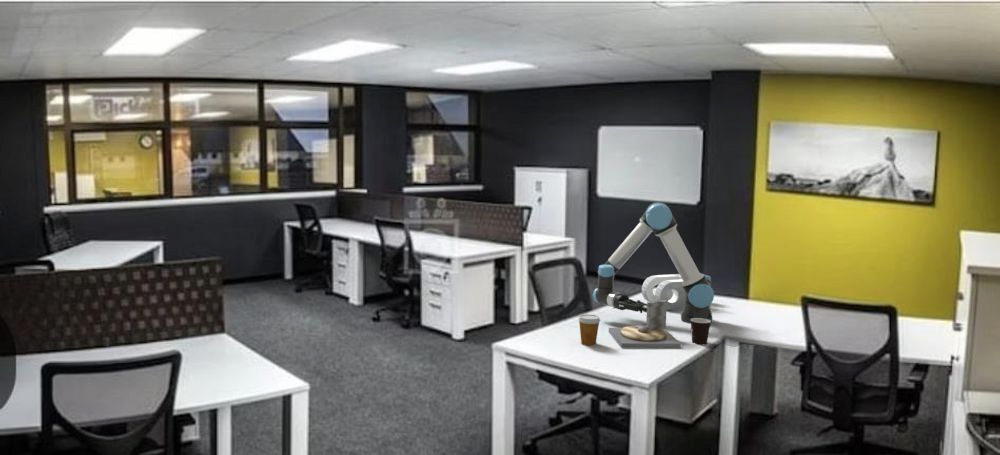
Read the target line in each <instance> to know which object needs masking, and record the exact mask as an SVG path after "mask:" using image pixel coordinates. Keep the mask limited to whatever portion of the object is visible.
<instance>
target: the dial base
mask: <svg viewBox="0 0 1000 455" xmlns="http://www.w3.org/2000/svg"><path fill="white" fill-rule="evenodd" d="M622 328H623V327H608V333H609V335H610V336H611V337H612V338H613V339H614V341H615V342H616V343H617V345H618V346H619V347H620V348H621V349H678V348H679V349H681V348H682V342H680V341H679V340H678V339H676V338H677V337H675V336H673V335H672V333H670V332H669V331H668V330H667V328H666V329H662V330H664V331H666V333H667V334H666V338H665V339H662V340H657V341H641V340H634V339H630V338H626V337H624V336H622V335H621V329H622Z"/></svg>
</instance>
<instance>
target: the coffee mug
mask: <svg viewBox="0 0 1000 455" xmlns="http://www.w3.org/2000/svg"><path fill="white" fill-rule="evenodd" d="M710 328H711V321H710V320H708V319H703V318H693V319H691V323H690V331H691V342H692V344H694V343H695V344H694V345H702V346H703V344H704V345H707V343H708V339H709V334H710Z"/></svg>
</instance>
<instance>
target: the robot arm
mask: <svg viewBox="0 0 1000 455" xmlns="http://www.w3.org/2000/svg"><path fill="white" fill-rule="evenodd" d="M677 226H678V223H677V221H676V219H675V217H674V216H673V214H672V211H671V209H670V207H669V206H668V205H667V204H666V203H665V202H663V201H654V202H653V203H651V204H649V205H648V206H647V208H646V210H645V211H644V213H643V215H642V216H641V217H640V218H639V223H638V224H637V225H636V226H635V227H634V229H632V231H631V232H630V233H629V234H628V235H627V237H626V238H625V239H624V240H623V242H622V243H620V245H619V246H618V247H617V249H615V251H614V252H613V253H612V254H611V256H610V257H608V260H606V262H605V263H604V264H600V265H599V266H598V270H597V274H598V275H597V278H598V279H597V287H596V288H595V289H594V290H593V292H592V299H593V301H595V302H596V303H598V304H600V305H604V306H607V307H610V308H612V309H615V310H616V309H617V310H620V311H625V310H628V311H633V312H637V313H638V312H639V313H640V314H642V313H646V314H647V303H646V302H643V301H641V300H639V299H638V300H633V299H631V298H630V297H629V296H628V295H627V294H625V293H621V292H617V291H615V290H614V282H615V281H614V279H615V275H616V274H617V273H618V272H619V271H620V269H621V268H622V267H623V266H624V265H625V263H626V262H627V261H628V260H629V259H630V258H631V257H632V256H633V254H634V253H635V252H636V251H637V250H638V249H639V247H640V246H641V245H642V244H643V243H644V242H645V240H647V238H648V237H649V236H650V235H651V233H652V232H653V235H654V236H656V237H659V238H660V241H661V242H662V245H663V246H664V248H665V250H666V251H667V254H668V256H669V258H670V259H671V261H672V263H673V265H674V266H675V268H676V270H677V272H678V274H680V276H681V278H682V280H683V283H682V287H683V288H684V290H685V292H686V300H685V306H684V309H682V312H681V314H680V320H681V321H682V322H685V323H689V324H691V319H693V318H703V319H708V320H710V321H711V323H712V322H713V315H712V311H711V307H710V305H711V304H712V303H713V300H714V299H715V292H714V289H713V288H712V285H711V283H712V279H711V278H712V277H711V276H710V275H707V274H704V273H702V272H700V271H699V269H698V267H697V265H696V264H695V262H694V259H693V257H692V256H691V254H690V252H689V250H688V249H687V247H686V245H685V242H684V241H683V239H682V237H681V236H680V233H679V232H678V229H677ZM711 323H710V324H711Z"/></svg>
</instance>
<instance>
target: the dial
mask: <svg viewBox="0 0 1000 455" xmlns="http://www.w3.org/2000/svg"><path fill="white" fill-rule="evenodd" d="M646 304H647V313H646V320H645V321H646V323H645V324H646V325H629V326H624V327H621V328H622V329H621V335H622V336H624V337H626V338H630V339H634V340H641V341H657V340H662V339H665V338H666V334H667V333H666V331H664V330H662V329H666V330H667V311H668V309H667V301H666V300H662V301H654V302H649V301H646Z"/></svg>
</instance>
